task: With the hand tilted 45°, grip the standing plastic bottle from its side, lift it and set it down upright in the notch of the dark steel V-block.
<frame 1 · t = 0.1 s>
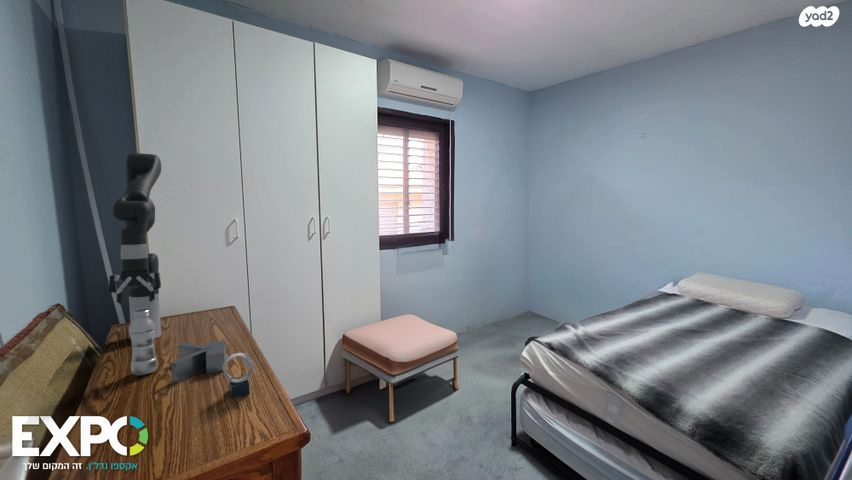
hand: (136, 302, 129), 17 cm above the table, tool pointing down, fingers open, 8 cm apart
watch: (239, 392, 102), on the table
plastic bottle: (144, 373, 112), on the table
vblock: (187, 369, 116), on the table
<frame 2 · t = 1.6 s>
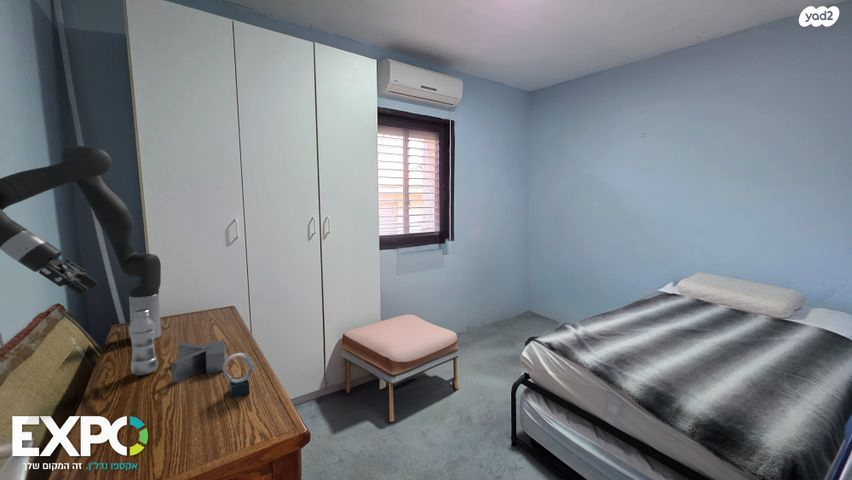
hand: (90, 288, 105), 28 cm above the table, tool tilted 45°, fingers open, 8 cm apart
nothing on the table moved.
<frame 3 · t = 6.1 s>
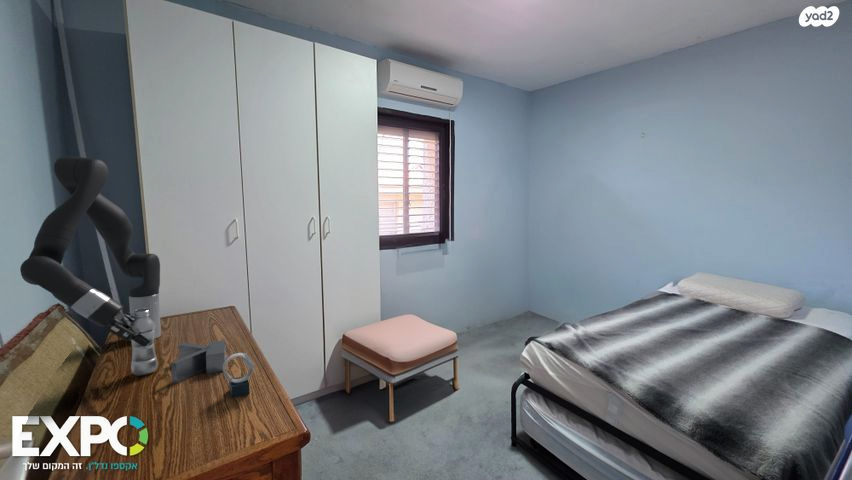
hand: (149, 340, 112), 10 cm above the table, tool tilted 45°, fingers closed on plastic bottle, 6 cm apart
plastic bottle: (144, 373, 112), on the table, touching gripper
everything else where it was.
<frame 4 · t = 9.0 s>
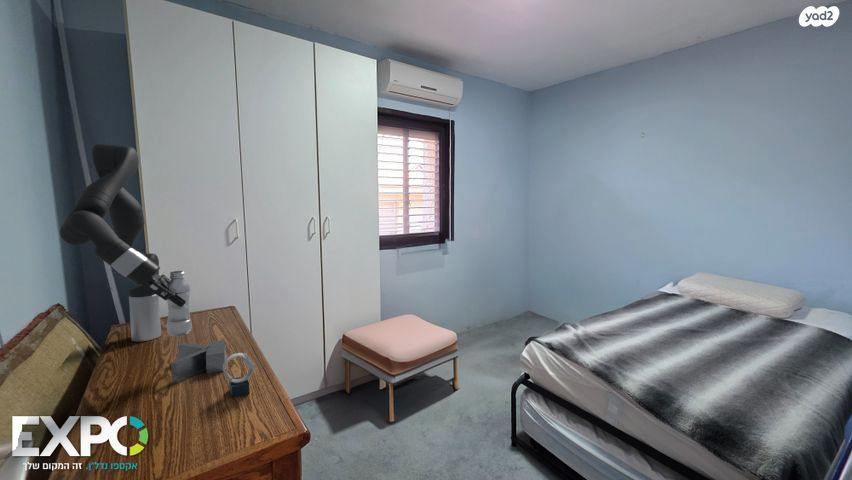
hand: (185, 301, 114), 22 cm above the table, tool tilted 45°, fingers closed on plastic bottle, 6 cm apart
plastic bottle: (179, 335, 114), point 12 cm above the table, touching gripper
everything else where it was.
when the fingers open (12 cm above the table, at t = 11.9 s): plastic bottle drops 1 cm, on the table.
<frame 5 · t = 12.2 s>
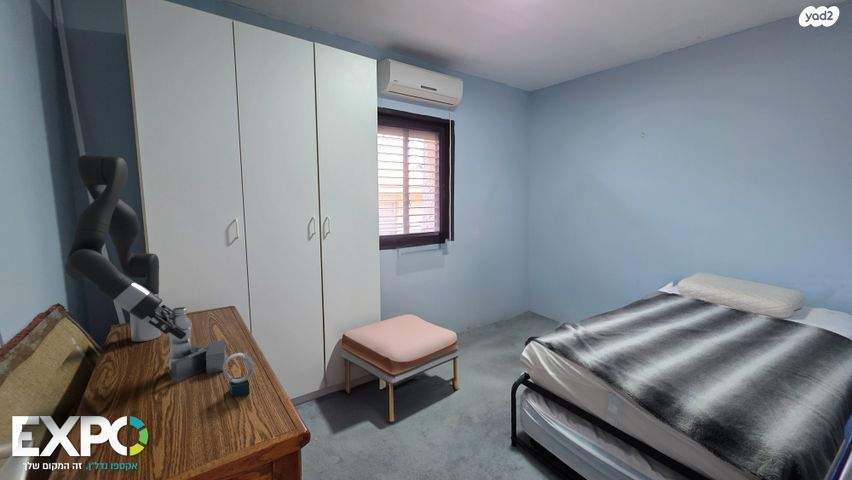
hand: (185, 332, 114), 12 cm above the table, tool tilted 45°, fingers open, 8 cm apart
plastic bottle: (181, 371, 115), on the table
everything else where it was.
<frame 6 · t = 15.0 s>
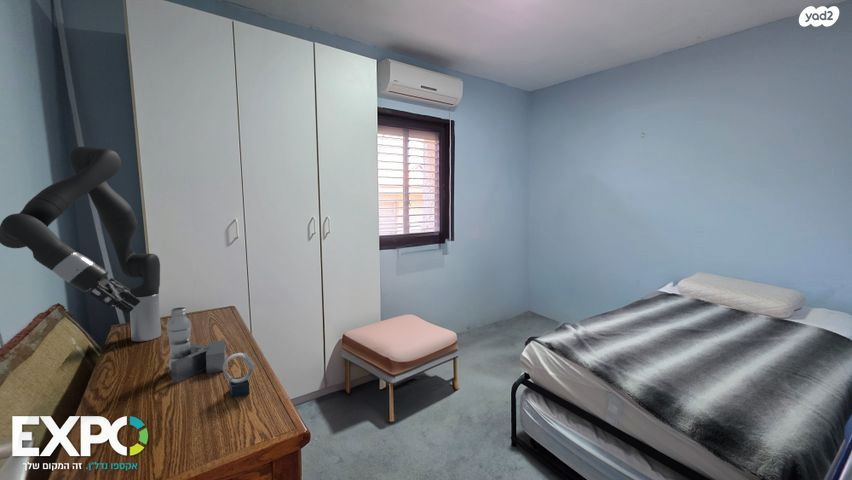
hand: (134, 307, 108), 22 cm above the table, tool tilted 45°, fingers open, 8 cm apart
nothing on the table moved.
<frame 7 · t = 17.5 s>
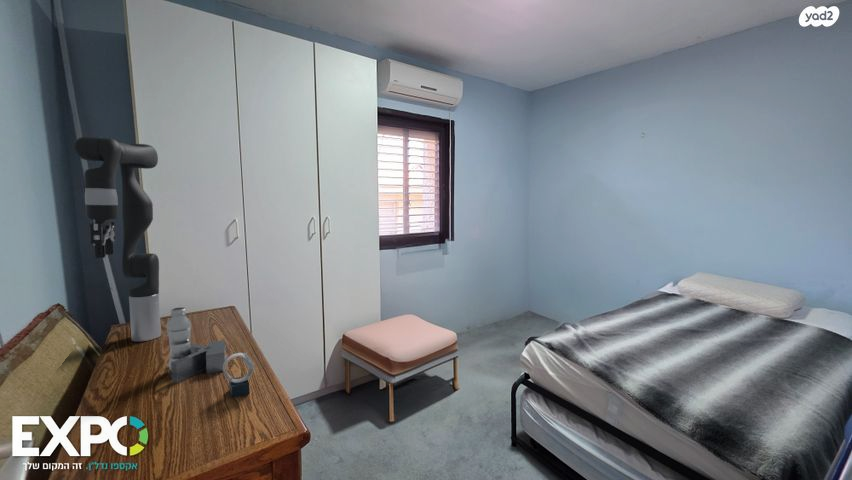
hand: (105, 256, 112), 36 cm above the table, tool pointing down, fingers open, 8 cm apart
nothing on the table moved.
at the end: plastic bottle 0.7 cm from the target spot on the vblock, point 0.0 cm above the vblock's base; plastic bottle tilted 0°; the gripper is holding nothing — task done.
